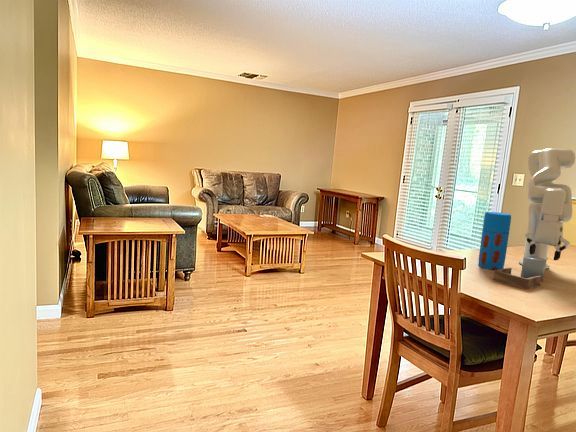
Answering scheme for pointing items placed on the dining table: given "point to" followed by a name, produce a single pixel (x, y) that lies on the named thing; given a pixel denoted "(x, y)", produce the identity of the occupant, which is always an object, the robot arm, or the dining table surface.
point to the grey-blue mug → (533, 267)
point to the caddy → (516, 279)
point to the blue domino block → (494, 240)
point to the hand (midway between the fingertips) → (543, 256)
